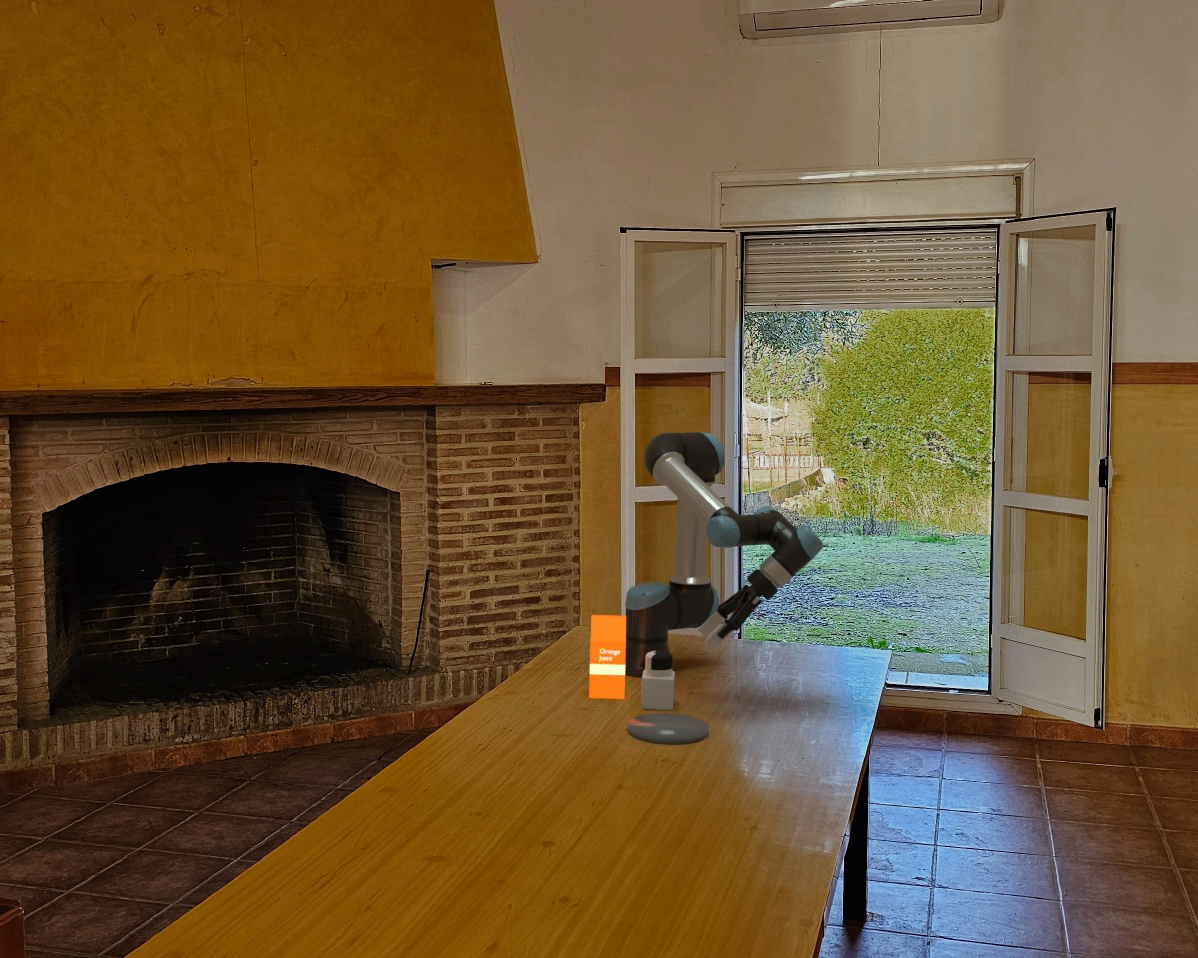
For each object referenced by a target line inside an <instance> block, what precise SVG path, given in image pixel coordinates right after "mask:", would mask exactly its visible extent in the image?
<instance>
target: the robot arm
mask: <svg viewBox="0 0 1198 958" xmlns="http://www.w3.org/2000/svg"><path fill="white" fill-rule="evenodd" d="M724 450H725V449H724V447H723V444H722V442H720V440H719V438H718V437H717V436H716V435H714V434H713V433H709V432H702V431H701V432H700V431H695V432H693V431H692V432H691V431H690V432H689V431H688V432H672V431H671V432H670V431H669V432H663V433H660V434H657V435H655V436H654V437H653V438H652V439H650V441H649V442H648V443H647V445H646V447H645V450H644V453H643V462H644V468H645V469H646V470H647V473H648V474H649V475H650V477H651V478H653V479H652V480H654V481H655V482H657V483H658V484H660V485H664V486H666V487H667V488H668V489H669V490H670V491H671V492H672V493H673V494H674V495H675V496H676V497H677V503H676V505H677V507H676V528H675V529H676V531H675V533H676V535H675V554H674V557H675V562H674V574H673V575H671V576H670V577H669V579H668V584H667V583H665V582H658V581H657V582H656V581H655V582H643V583H639V584H635V585H633V586H631V587H630V588H629V589H628V590H627V592H626V597H625V603H624V605H625V616H626V652H625V675H628V676H633V677H641V678H642V675H643V671H644V670H645V658H646V654H647V653H649V652H652V651H664V652H668V653H670V654H671V651H670V646H669V631H675V630H683V629H685V630H687V629H697V631H699V632H700V634H702V635H703V637H704V638H706V639H705V640H704V643H705V644H706V645H707V646H708V647H709V648H710V649H711V650H712V651H713V650H714V649H716V648H717V647H718V646H719V645H720V644H721V642H723V641H724V640H725V639H726V638H727V637H728V636H730V634H731V633H733V632H734V631H738V630H739V629H740V628H741V627H742V625H743V624H744V623H745V622H747V620H748V619H749V617H751V614H752V613H753V612H754V611H755V610H756V609H757V608H758V607H759V605H761V604H762V602H763V600H762V599H761V597H763V598H764V599H765V600H766V601H770V600H771V599H772V598H773V597H775V595H776V594H777V593H778V592H779V589H782V588H783V587H785V585H786V584H787V585H789V584H790V583H791V580H792V578H793V577H794V576H796V574H797V573H799V572H800V571H801V570H802V569H803V568H804V567H806V566H807V565H808V564H809V563H811V562H812V560H814V558H815V557H816V556H817V555H818V553H820V552H821V550H823V548H824V542H823V541H822V539H821V538H820V537H819V536H818V535H817V534H816V533H815V532H814V531H813V530H812V529H811V528H810V527H809V526H807V525H806V524H802V525H801V526H799V527H797V528H796V527H795V526H794V525H793V523H791V522H790V520H788V518H786V517H785V516H784V515H783V514H782V513H781V512H780V511H778V510H777V509H775V508H774V507H772V506H769V505H764V506H762V507H761V508H757V509H756V510H755V511H754V512H753V514H739V513H737V512H736V511H735V510H734V509H733V508H732V506H730V505H729V504H728V503H727V502H726V501H724V500H723V499H722V498H721V497H720V495H718V494H717V492H715V491H714V490H713V489H712V486H713V485H714V484H715V483H716V476H717V475H718V474H721V473H722V471H723V468H724V467H725V464H726V463H725V460H726V458H725V457H726V456H725V451H724ZM708 541H709V543H710V544H711V545H712V546H714V547H716V548H726V549H727V548H728V549H729V548H734V547H735V548H736V547H737V548H738V547H747V546H748V547H749V546H764V545H765V546H766V545H767V546H769V547H771V548H772V549H773V552H772V553H771V554H770V555H768V556H767V557H766V558H765V559H764V560H763V561H762V562H761V563H760V564H759V568H755V569H754V570H753V571H752V572H751V573H750V574H748V575H747V577H746V580H747V581H748V582H749V583H750V586H749V585H748V584H747V583H746V584H744V585H743V586H742V588H740V589H739V590H738V591H736V592H735V593H734V594H732V595H731V596H730V597H728V598H727V599H726V600H725V601H723V602H722V603H720V597H719V595H718V590H717V589H716V588H715V586H714V585H712V580H711V578H709V576H708V575H707V557H708V556H707V554H708V553H707V552H708V551H707V550H708ZM778 588H779V589H778ZM730 614H731V615H730ZM729 615H730V616H729ZM722 622H723V623H722ZM721 623H722V624H721ZM720 624H721V625H720ZM719 625H720V626H719ZM718 626H719V627H718ZM717 627H718V628H717ZM716 628H717V629H716ZM714 630H715V631H714ZM713 631H714V632H713ZM708 636H709V637H708ZM674 666H675V664H674V659H673V660H672V671H674V669H675V668H674Z"/></svg>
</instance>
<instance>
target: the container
mask: <svg viewBox="0 0 1198 958" xmlns="http://www.w3.org/2000/svg"><path fill="white" fill-rule="evenodd" d="M672 660H673V661H674V659H673V655H672V654H671V652H670V653H668V652H664V651H652V652H649V653H647V654H646V658H645V670H644V671H643V675H642V677H641V689H640V691H641V692H640V693H641V694H640V696H641V697H640V708H641V709H642V710H659V711H673V710H674V707H675V705H674V704H675V691H676V690H675V687H676V686H675V683H676V673H675V671H674V670H673V671H672Z"/></svg>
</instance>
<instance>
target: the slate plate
mask: <svg viewBox="0 0 1198 958" xmlns="http://www.w3.org/2000/svg"><path fill="white" fill-rule="evenodd" d="M627 722H628V723H627V732H628V734H629V735H630V736H632V737H634V739H635V738H636V739H637V740H641V741H644V742H648V743H652V744H659V743H660V744H661V745H686V744H693V743H697V742H700V741H703V740H705V739H706V738H707V737H708V736H709V724H708V723H707V722H706V721H705V720H702V719H700V718H698V717H695V716H691V715H687V714H681V713H668V712H657V713H656V712H654V713H646V714H641V715H638V716H634V717H633V718H631V719H629V720H628V721H627Z"/></svg>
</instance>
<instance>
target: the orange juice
mask: <svg viewBox="0 0 1198 958" xmlns="http://www.w3.org/2000/svg"><path fill="white" fill-rule="evenodd" d="M590 627H591V629H590V645H589V647H590V648H589V653H590V654H589V690H588V692H589V693H588V697H589V699H609V700H610V699H612V700H613V699H615V700H625V689H626V687H625V686H626V683H625V682H626V680H625V679H626V674H625V652H626V615H607V614H606V615H602V614H600V615H599V614H592V615H591V625H590Z"/></svg>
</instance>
